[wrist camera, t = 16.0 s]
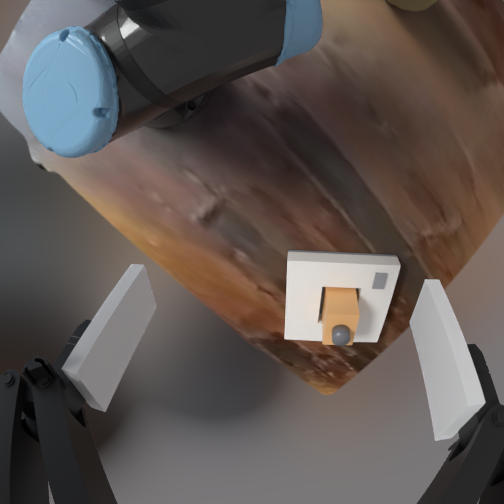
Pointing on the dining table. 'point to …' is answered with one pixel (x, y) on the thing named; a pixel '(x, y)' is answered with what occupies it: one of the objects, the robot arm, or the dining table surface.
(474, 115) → the dining table surface
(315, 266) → the socket
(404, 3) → the squeeze bottle
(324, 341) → the plug
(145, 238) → the dining table surface
